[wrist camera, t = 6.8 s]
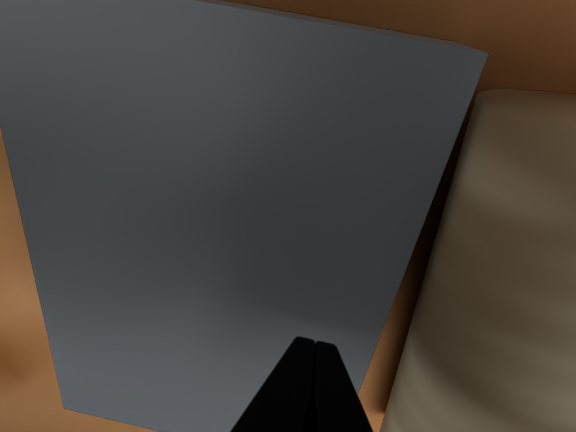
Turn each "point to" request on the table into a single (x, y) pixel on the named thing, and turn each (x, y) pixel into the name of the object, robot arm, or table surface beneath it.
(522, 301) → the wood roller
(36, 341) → the table surface
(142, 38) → the slate board
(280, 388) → the robot arm
